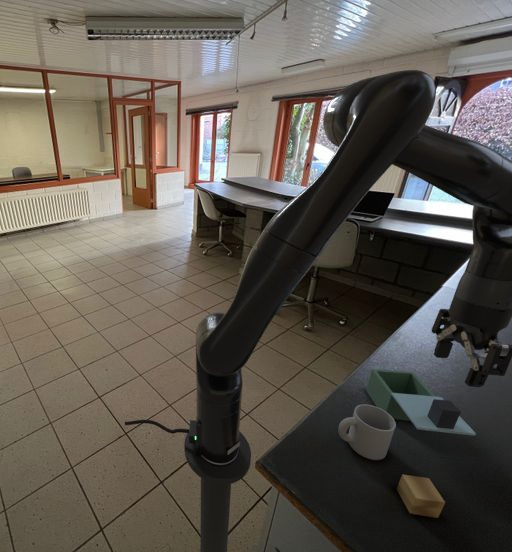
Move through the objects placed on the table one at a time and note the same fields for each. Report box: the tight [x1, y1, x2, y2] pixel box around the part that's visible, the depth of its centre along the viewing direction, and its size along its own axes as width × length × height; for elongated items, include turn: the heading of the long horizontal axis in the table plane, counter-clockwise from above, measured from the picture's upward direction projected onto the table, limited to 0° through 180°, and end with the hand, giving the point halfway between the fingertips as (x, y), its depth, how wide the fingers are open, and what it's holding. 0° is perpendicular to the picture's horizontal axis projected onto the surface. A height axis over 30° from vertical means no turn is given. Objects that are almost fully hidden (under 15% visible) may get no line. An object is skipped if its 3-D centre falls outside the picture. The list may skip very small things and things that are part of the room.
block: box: [396, 474, 446, 519], centre depth 55 cm, size 4×4×4 cm
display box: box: [365, 368, 437, 422], centre depth 76 cm, size 10×10×8 cm
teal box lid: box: [391, 393, 477, 436], centre depth 64 cm, size 10×10×5 cm
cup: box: [337, 403, 397, 461], centre depth 66 cm, size 7×10×9 cm
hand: (455, 370), depth 59 cm, fingers open, 8 cm apart
